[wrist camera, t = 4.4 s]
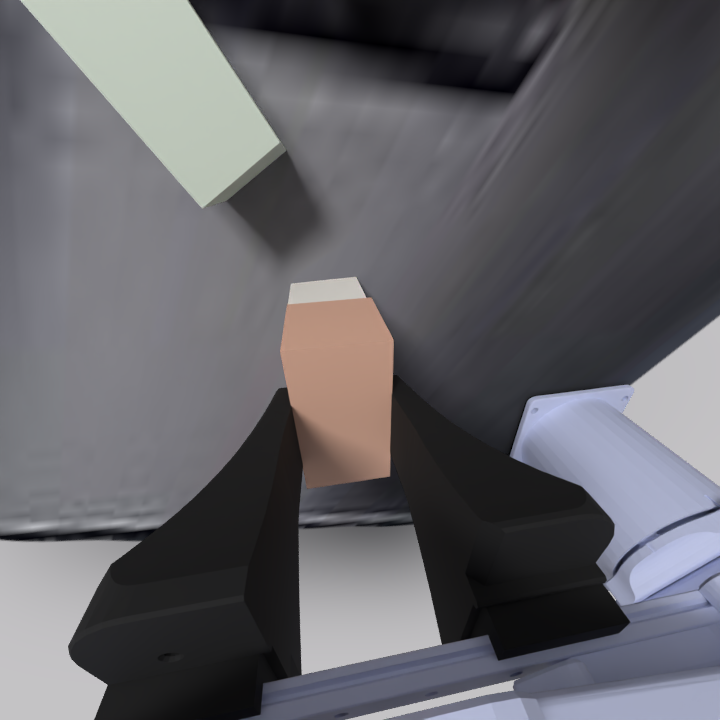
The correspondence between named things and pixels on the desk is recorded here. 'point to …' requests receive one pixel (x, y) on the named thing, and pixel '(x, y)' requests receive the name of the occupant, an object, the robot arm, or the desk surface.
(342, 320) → the terracotta brick
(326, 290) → the cream brick
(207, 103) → the sage brick
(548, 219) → the desk surface
